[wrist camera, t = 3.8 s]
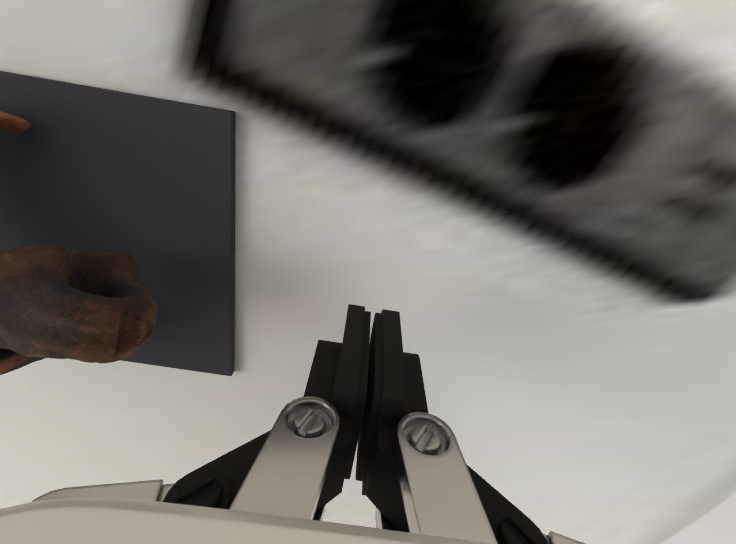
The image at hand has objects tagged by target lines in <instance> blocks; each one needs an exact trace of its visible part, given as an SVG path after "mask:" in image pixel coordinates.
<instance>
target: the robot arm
mask: <svg viewBox="0 0 736 544" xmlns="http://www.w3.org/2000/svg"><path fill="white" fill-rule="evenodd" d="M370 317H371V312H368V311H365V307H364V306H357V305H351V304H349V306H348V312H347V318H346V324H345V331H344V337H343V343H337V342H331V341H324V340H319V341H318V344H317V348H316V352H315V356H314V359H313V363H312V367H311V371H310V374H309V378H308V382H307V386H306V390H305V393H304V397H301V398H298V399H295V400H293V401H291V402H290V403H288V404H287V405H286V406H285V407H284V409H283V410H282V411H281V413H280V415H279V417H278V419H277V420H276V422H275V424H274V426H273V428H272V430H270V431H268V432H266V433H265V434H263V435H261V436H259V437H257V438H255V439H253V440H251V441H249V442H248V443H246V444H244V445H242V446H240V447H238V448H236V449H234V450H232V451H230V452H229V453H227V454H225V455H223V456H221V457H219V458H217V459H215V460H213V461H212V462H210V463H208V464H206V465H204V466H202V467H200V468H198V469H196V470H194V471H193V472H191V473H189V474H187V475H186V476H184V477H183V478H181V479H180V480H178V481H177V482H176V483H175V484H166V485H163V480H151V481H140V482H128V483H117V484H105V485H93V486H82V487H70V488H63V489H59V490H54V491H51V492H49V493H46V494H44V495H42V496H40V497H38V498H36V499H35V500H33V501H32V502H30V503H26V504H21V505H16V506H12V507H7V508H3V509H0V544H585V543H582V542H579V541H577V540H574V539H571V538H568V537H566V536H563V535H560V534H557V533H555V532H552V531H550V532H549V534H548V535H545V534H542V532H541V531H540V529H539V528H538V527H537V526H536V525H535V524H534V523H533V522H532V521H531V520H530V519H529V518H528V517H527V516H526V515H524V514H523V513H522V512H521V511H520V510H519V509H518V508H516V507H515V506H514V505H513V504H512V503H511V502H509V501H508V500H507V499H506V498H505V497H504V496H502V495H501V494H500V493H499V492H498V491H497V490H496V489H494V488H493V487H492V486H491V485H490V484H489V483H487V482H486V481H485V480H484V479H483V478H482V477H480V476H479V475H478V474H477V473H476V472H475V471H474V470H472V469H471V468H470V467H469V466H468V465H467V464H466V463H465V460H464V458H463V455H462V453H461V450H460V448H459V445H458V442H457V440H456V437H455V435H454V433H453V432H452V430H451V428H450V427H449V426H448V425H447V424H446V423H445V422H444V421H443V420H441V419H439V418H438V417H436V416H434V415H431V414H429V413H428V409H427V402H426V396H425V390H424V383H423V377H422V371H421V364H420V358H419V355H418V354H411V353H404V352H403V346H402V336H401V325H400V315H399V312H396V311H390V310H382V313H375V317H374V322H373V328H372V333H371V338H370ZM369 339H370V343H369ZM357 441H358V449H357V464H356V480H359V481H363V483H362V495H366V496H367V497H368V498H369V499H370V500H371V502H372V503H373V504H374V505H375V506H376V517H375V519H376V526H377V528H370V527H363V526H355V525H347V524H339V523H332V522H324V521H322V519H323V515H324V512H325V506H326V504H327V503H328V502H329V501H331V500H332V499H333V498H334V497H336V496H337V495H338V494H340V493H341V492H342V487H343V482H344V479H350V475H351V470H352V466H353V461H354V456H355V451H356V446H357Z"/></svg>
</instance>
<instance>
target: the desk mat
mask: <svg viewBox="0 0 736 544" xmlns="http://www.w3.org/2000/svg"><path fill="white" fill-rule="evenodd" d="M0 111H2V112H5V113H8V114H12V115H15V116H18V117H20V118H23V119H25V120H26V121H28V122H29V123H31V127H30V129H28V130H27V131H24V132H16V131H12V130H9V129H6V128H2V127H0V251H3V250H10V249H19V248H24V247H28V246H32V245H51V246H57V247H60V248H62V249H66V250H71V249H75V250H81V251H85V252H87V253H88V254H102V253H122V252H127V253H129V254H130V256H131V258H132V260H133V262H134V264H135V267H136V273H137V279H138V281H139V282H140V283H141V284H142V285H143V286H144V287H146V288H147V289H148V291H149V292H150V293H151V295H152V296H153V298H154V300H155V302H156V304H157V316H156V319H155V332H154V333H153V335H152V336H151V337H150V338H148V340H146V341H145V342H144V343H143V344H142V345H141V346H140V347H139V348H138V349H137V350H136V351H135V352H134V353H133V354H131V355H130V356H128V357H126V358H124V359H122V360H123V361H130V362H137V363H143V364H150V365H157V366H164V367H171V368H178V369H185V370H192V371H199V372H206V373H213V374H220V375H227V376H232V374H233V372H234V272H235V112H234V111H229V110H223V109H217V108H211V107H206V106H200V105H194V104H188V103H182V102H177V101H171V100H165V99H159V98H153V97H148V96H142V95H136V94H130V93H124V92H119V91H113V90H107V89H101V88H95V87H90V86H84V85H78V84H72V83H66V82H61V81H55V80H49V79H43V78H38V77H32V76H26V75H20V74H14V73H9V72H3V71H0Z"/></svg>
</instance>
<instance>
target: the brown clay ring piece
mask: <svg viewBox="0 0 736 544" xmlns="http://www.w3.org/2000/svg"><path fill="white" fill-rule="evenodd" d="M0 127H2V128H6V129H9V130H12V131H16V132H24V131H27V130H28V129H30V127H31V123H29V122H28V121H26V120H25V119H23V118H20V117H18V116H15V115H12V114H8V113H5V112H2V111H0ZM156 316H157V304H156V302H155V300H154V298H153V296H152V295H151V293H150V292H149V291H148V289H147V288H146V287H144V286H143V285H142V284H141V283H140V282H139V281H138V279H137V273H136V267H135V264H134V262H133V260H132V258H131V256H130V254H129V253H127V252H122V253H102V254H88V253H87V252H85V251H81V250H75V249H71V250H66V249H62V248H60V247H57V246H51V245H32V246H28V247H24V248H19V249H10V250H3V251H0V375H1V374H5V373H8V372H10V371H13V370H16V369H19V368H21V367H23V366H26V365H28V364H30V363H32V362H35V361H38V360H42V359H44V358H57V359H68V358H69V359H75V360H80V361H83V362H90V363H92V362H97V363H109V362H114V361H118V360H122V359H124V358H126V357H128V356H130V355H131V354H133V353H134V352H135V351H136V350H137V349H138V348H139V347H140V346H141V345H142V344H143V343H144V342H145V341H146V340H148V338H150V337H151V336H152V335H153V333H154V332H155V319H156Z"/></svg>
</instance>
